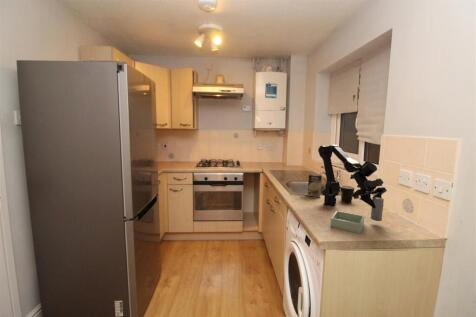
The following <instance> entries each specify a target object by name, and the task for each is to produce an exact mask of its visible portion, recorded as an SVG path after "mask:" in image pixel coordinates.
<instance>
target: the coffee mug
mask: <svg viewBox="0 0 476 317" xmlns="http://www.w3.org/2000/svg"><path fill="white" fill-rule="evenodd" d="M354 192H355V186H351V185H340V201H341V202H342V203H346V204H347V203H349V204H350V203H352V202H353V198H354V197H353V193H354Z"/></svg>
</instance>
